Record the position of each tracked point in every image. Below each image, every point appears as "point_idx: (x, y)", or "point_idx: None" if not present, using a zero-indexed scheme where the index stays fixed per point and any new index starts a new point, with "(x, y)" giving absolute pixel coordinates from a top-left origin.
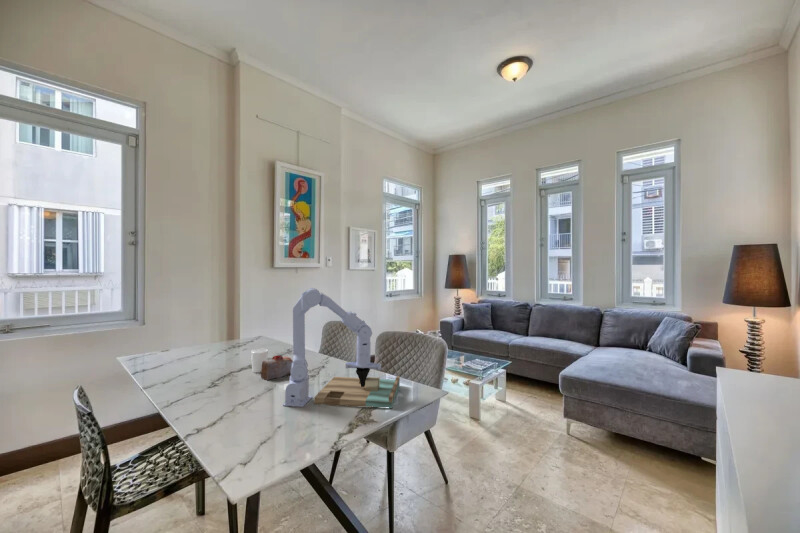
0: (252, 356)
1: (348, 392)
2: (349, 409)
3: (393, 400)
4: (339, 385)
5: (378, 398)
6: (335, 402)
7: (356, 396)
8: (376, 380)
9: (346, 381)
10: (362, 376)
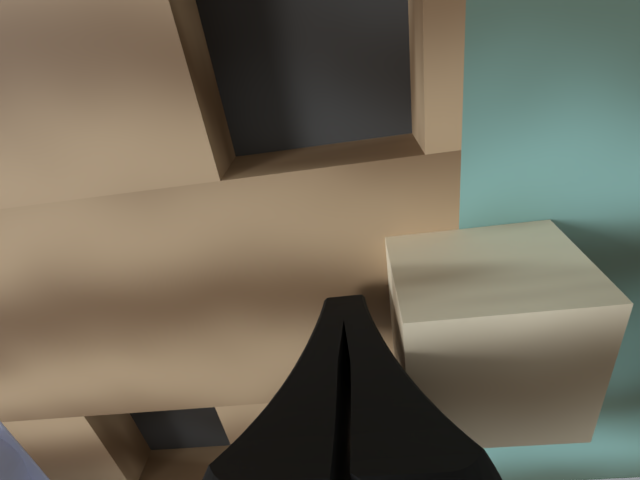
0: None
1: (250, 406)
2: None
3: None
4: (46, 292)
5: (553, 447)
6: None
7: None
8: (574, 415)
9: (13, 150)
10: (349, 451)
